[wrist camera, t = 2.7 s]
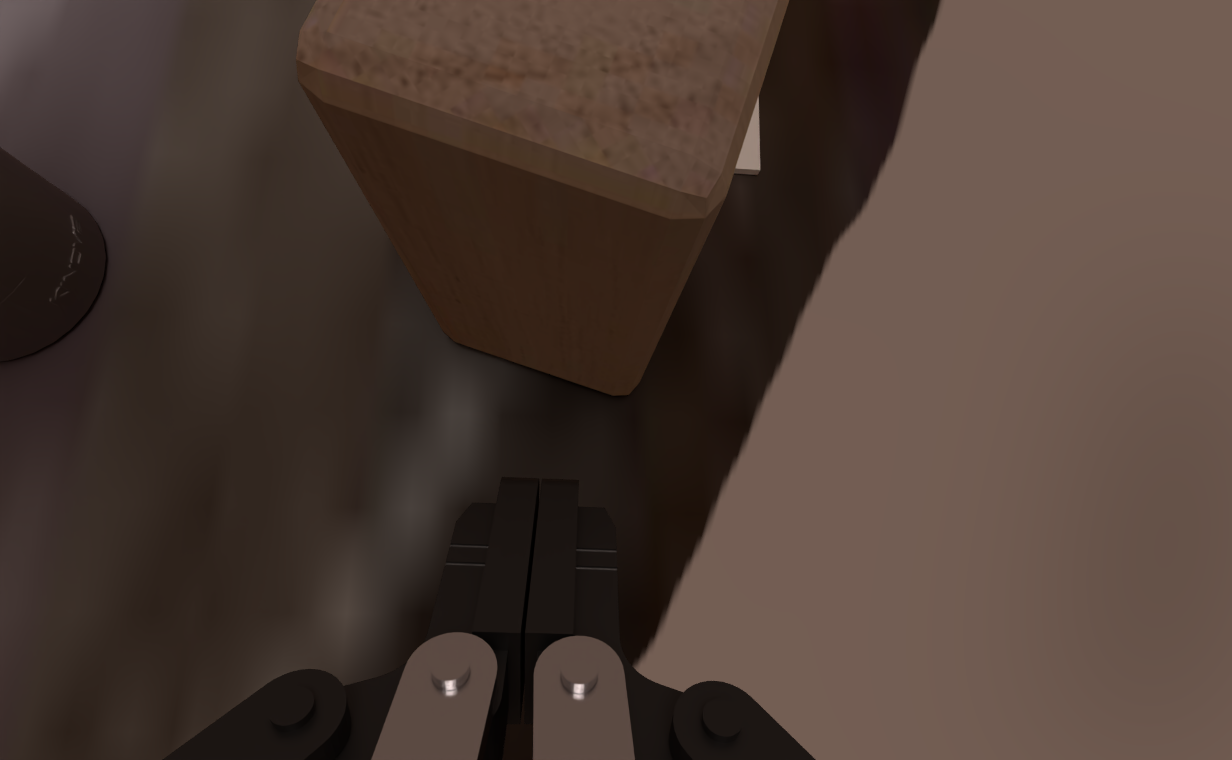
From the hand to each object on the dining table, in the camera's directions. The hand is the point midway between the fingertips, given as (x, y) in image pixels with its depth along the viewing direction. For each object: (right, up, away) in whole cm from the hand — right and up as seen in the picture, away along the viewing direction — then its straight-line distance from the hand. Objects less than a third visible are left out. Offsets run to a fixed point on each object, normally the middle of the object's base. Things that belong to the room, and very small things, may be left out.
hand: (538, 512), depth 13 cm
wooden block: (-1, +7, +21) cm, 22 cm away
